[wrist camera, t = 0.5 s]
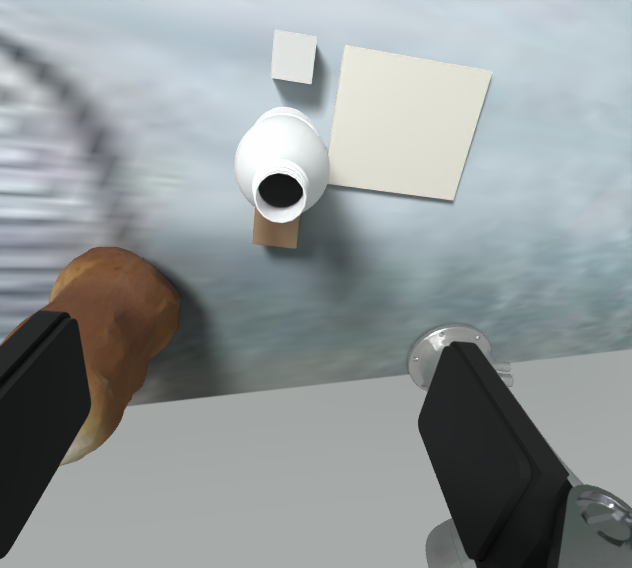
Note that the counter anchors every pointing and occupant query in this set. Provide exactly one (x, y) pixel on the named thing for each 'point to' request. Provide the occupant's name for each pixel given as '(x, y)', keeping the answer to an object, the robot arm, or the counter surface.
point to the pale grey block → (293, 56)
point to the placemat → (403, 122)
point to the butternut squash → (113, 331)
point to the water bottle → (282, 164)
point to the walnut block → (275, 232)
